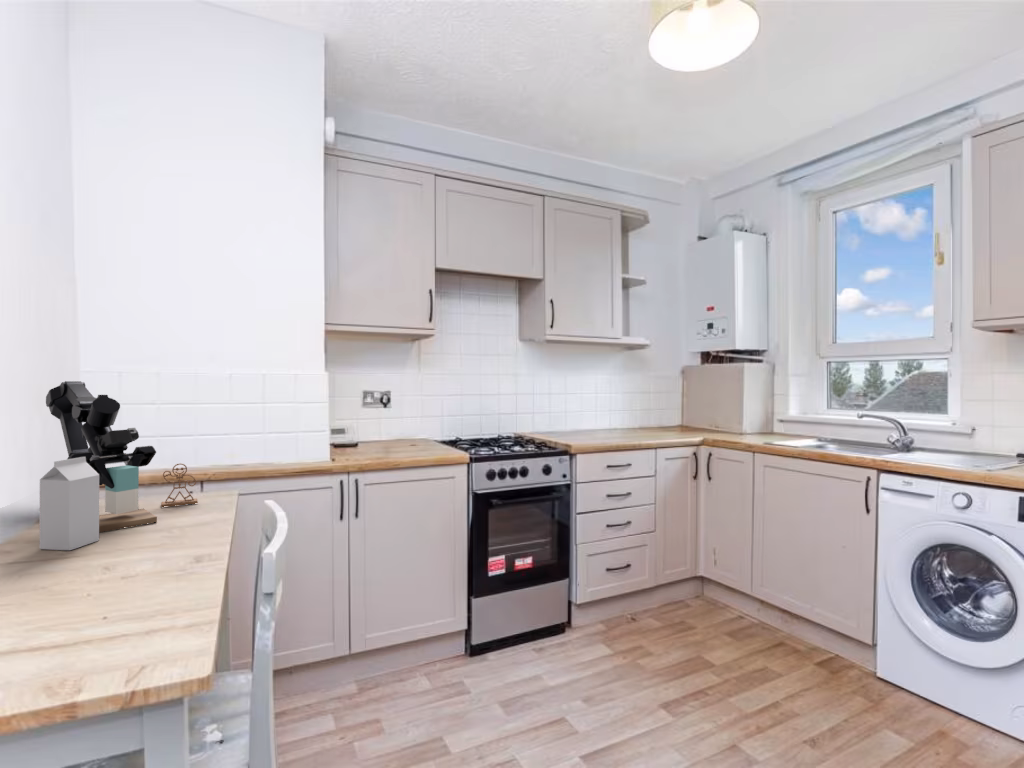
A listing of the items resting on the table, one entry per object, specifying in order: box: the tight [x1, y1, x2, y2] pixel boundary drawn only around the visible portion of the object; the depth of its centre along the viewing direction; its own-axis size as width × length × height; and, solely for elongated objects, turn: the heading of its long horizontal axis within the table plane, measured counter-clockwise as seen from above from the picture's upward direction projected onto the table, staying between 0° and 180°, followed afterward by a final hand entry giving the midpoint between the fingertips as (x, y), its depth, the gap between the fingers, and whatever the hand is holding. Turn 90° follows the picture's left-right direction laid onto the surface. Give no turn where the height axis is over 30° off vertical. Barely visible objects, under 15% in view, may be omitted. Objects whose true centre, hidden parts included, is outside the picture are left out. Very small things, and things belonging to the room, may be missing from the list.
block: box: [104, 464, 140, 514], centre depth 131 cm, size 5×5×11 cm
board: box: [99, 508, 158, 533], centre depth 131 cm, size 12×12×2 cm
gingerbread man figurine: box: [160, 462, 199, 508], centre depth 150 cm, size 9×4×12 cm, turn 124°
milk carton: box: [39, 457, 100, 551], centre depth 113 cm, size 7×7×19 cm
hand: (125, 485), depth 130 cm, fingers closed on block, 5 cm apart
